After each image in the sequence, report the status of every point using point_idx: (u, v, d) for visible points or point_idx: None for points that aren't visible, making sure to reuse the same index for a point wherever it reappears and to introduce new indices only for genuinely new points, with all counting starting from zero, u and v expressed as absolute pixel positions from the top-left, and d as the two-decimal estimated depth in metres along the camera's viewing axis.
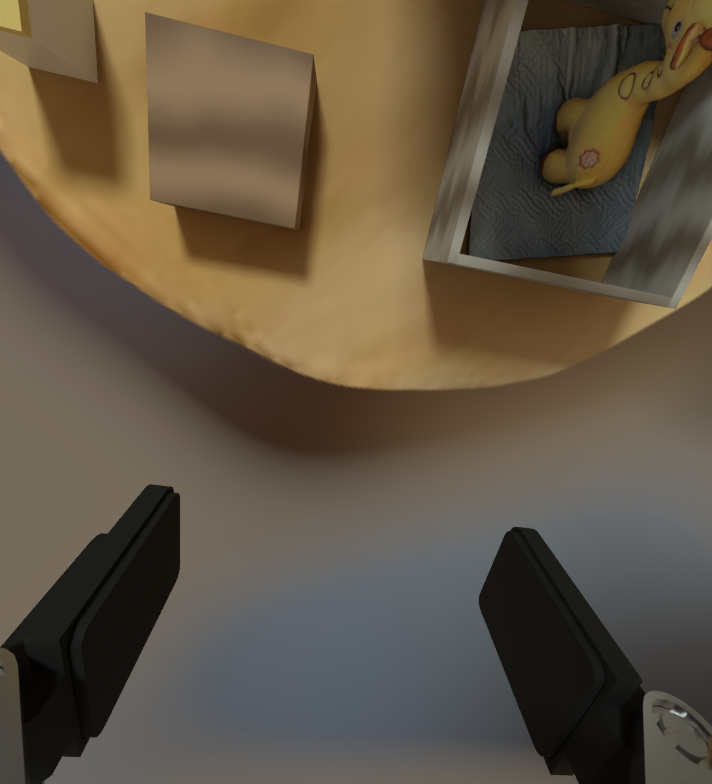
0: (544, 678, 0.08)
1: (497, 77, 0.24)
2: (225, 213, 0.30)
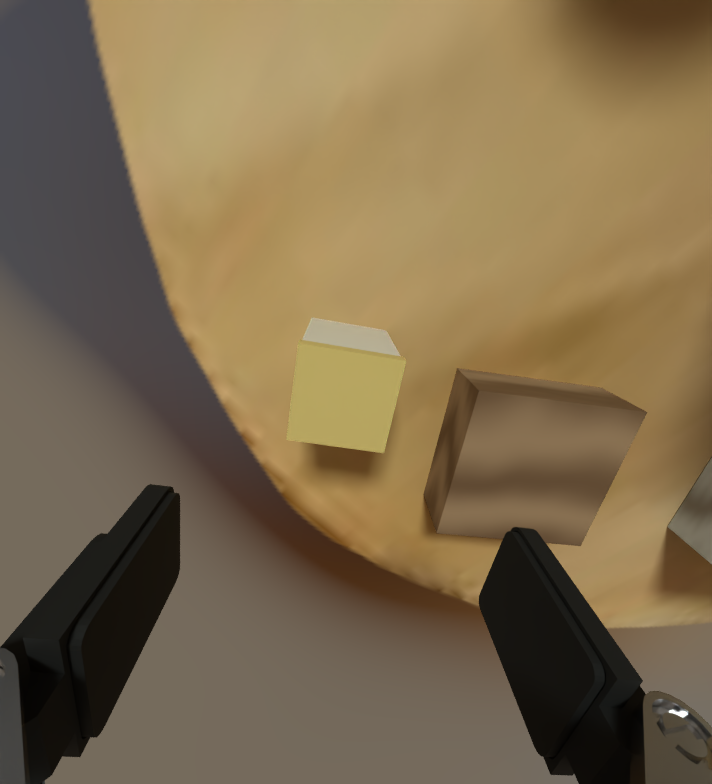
0: (544, 678, 0.08)
1: None
2: None
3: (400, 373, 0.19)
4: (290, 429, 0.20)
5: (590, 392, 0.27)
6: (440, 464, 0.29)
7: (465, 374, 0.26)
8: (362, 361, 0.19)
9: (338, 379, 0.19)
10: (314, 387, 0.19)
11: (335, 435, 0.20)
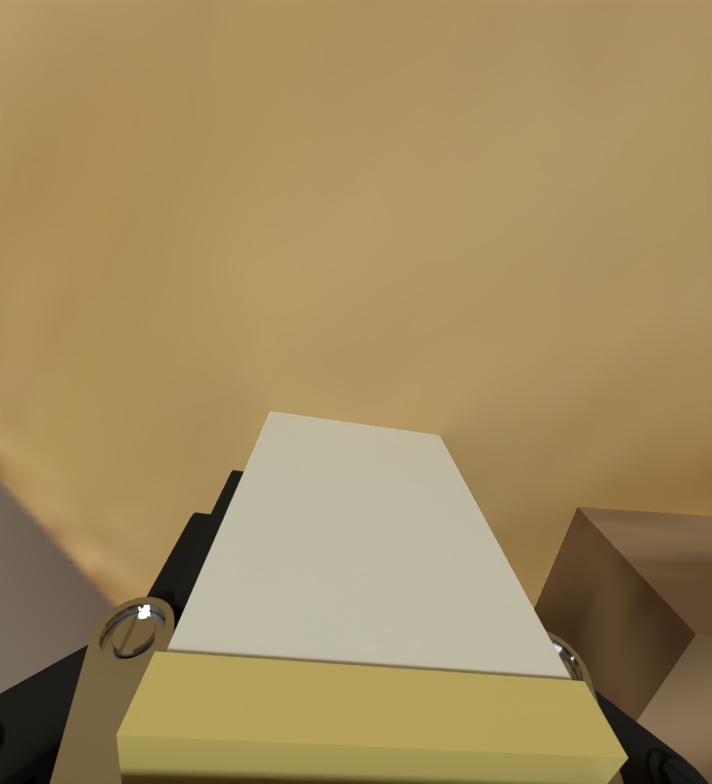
0: None
1: None
2: None
3: None
4: None
5: None
6: None
7: (608, 535, 0.12)
8: (433, 769, 0.04)
9: None
10: None
11: None
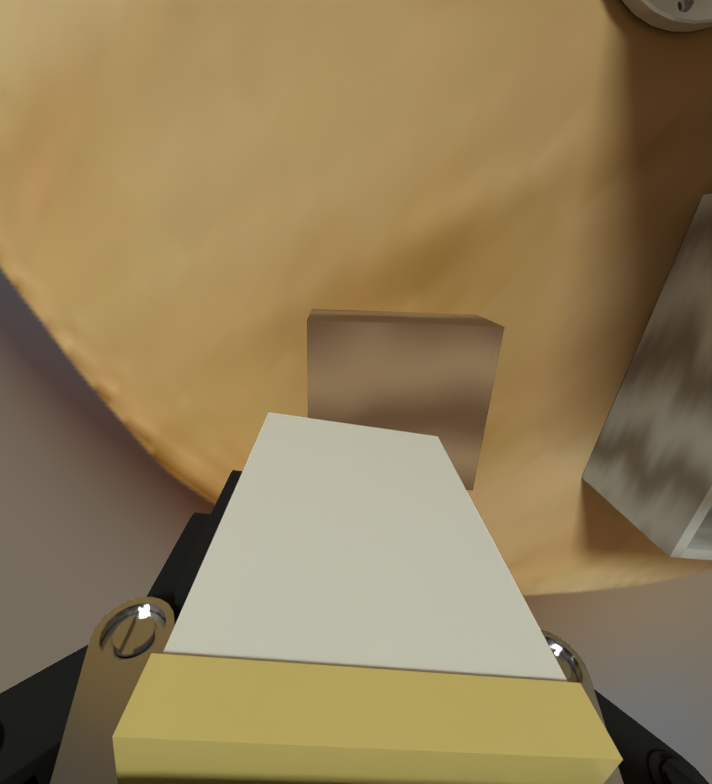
0: None
1: None
2: None
3: None
4: None
5: (455, 317, 0.24)
6: None
7: (313, 312, 0.24)
8: (428, 771, 0.04)
9: None
10: None
11: None
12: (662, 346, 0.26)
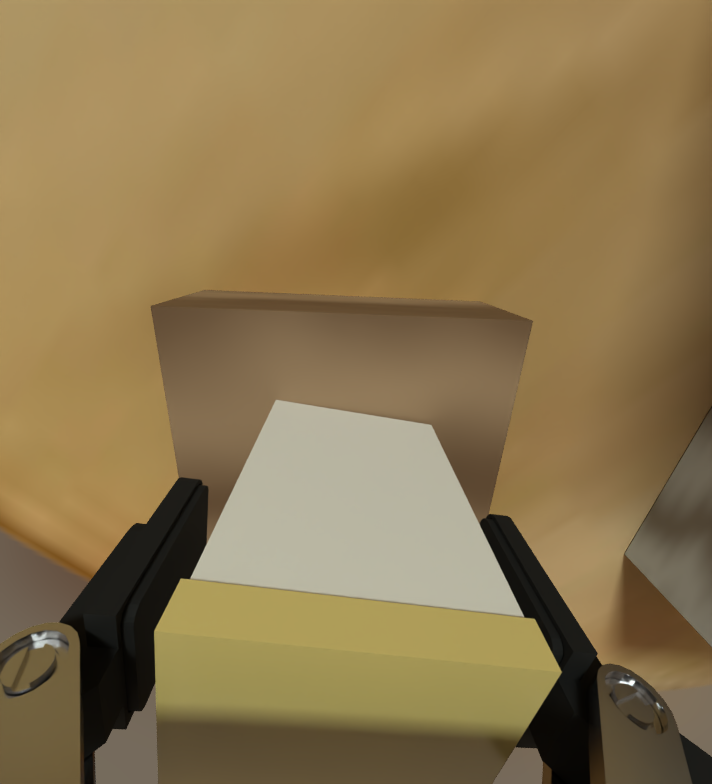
0: None
1: None
2: None
3: (534, 702, 0.05)
4: None
5: (443, 305, 0.14)
6: None
7: (195, 294, 0.14)
8: (402, 675, 0.05)
9: (315, 718, 0.05)
10: (232, 736, 0.06)
11: None
12: None
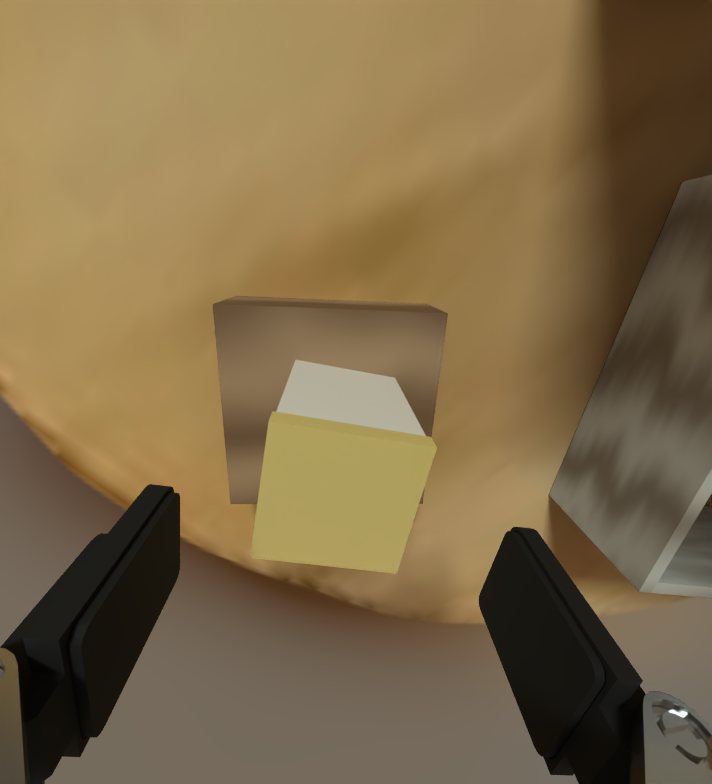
0: (544, 678, 0.08)
1: None
2: None
3: (426, 465, 0.12)
4: (256, 543, 0.13)
5: (398, 305, 0.21)
6: None
7: (232, 298, 0.21)
8: (369, 448, 0.12)
9: (331, 473, 0.12)
10: (293, 485, 0.12)
11: (325, 551, 0.13)
12: (636, 350, 0.23)
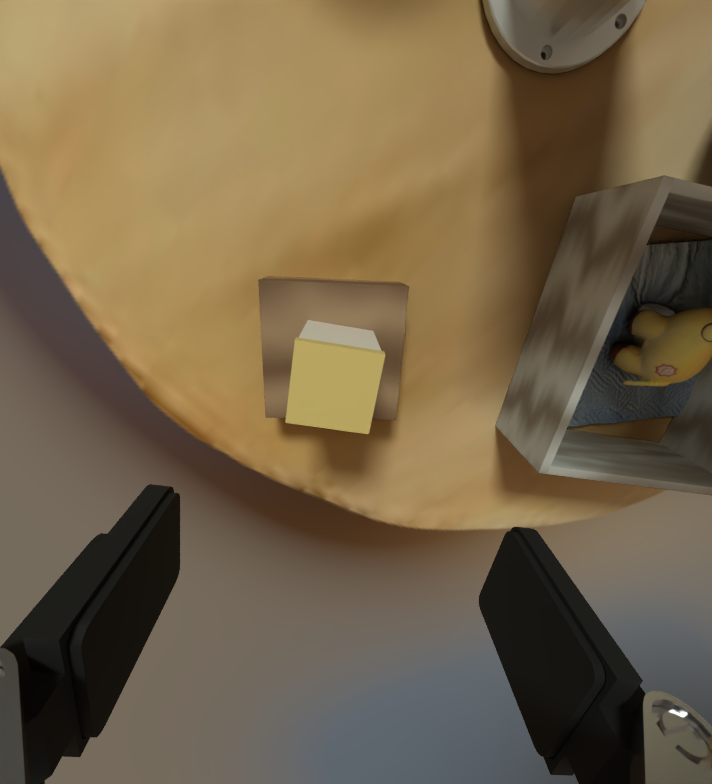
0: (544, 678, 0.08)
1: (597, 338, 0.26)
2: None
3: (380, 365, 0.23)
4: (288, 413, 0.23)
5: (378, 282, 0.31)
6: None
7: (268, 277, 0.31)
8: (348, 355, 0.22)
9: (328, 370, 0.23)
10: (308, 377, 0.23)
11: (327, 418, 0.24)
12: (546, 314, 0.33)
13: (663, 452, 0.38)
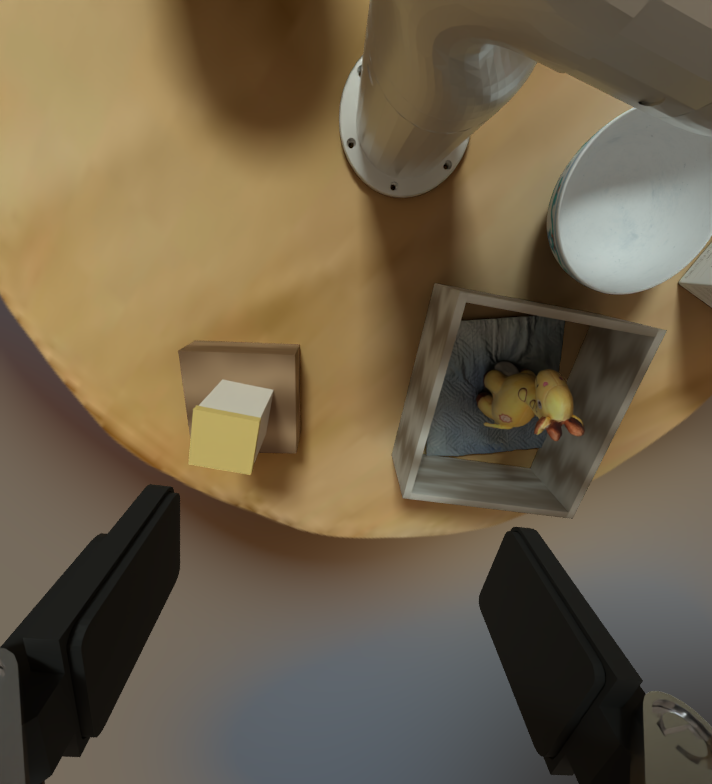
0: (543, 678, 0.08)
1: (430, 401, 0.35)
2: None
3: (256, 428, 0.32)
4: (190, 458, 0.32)
5: (278, 347, 0.40)
6: None
7: (191, 343, 0.40)
8: (232, 420, 0.31)
9: (218, 430, 0.31)
10: (204, 434, 0.32)
11: (219, 463, 0.33)
12: (416, 372, 0.42)
13: (526, 477, 0.47)
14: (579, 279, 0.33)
